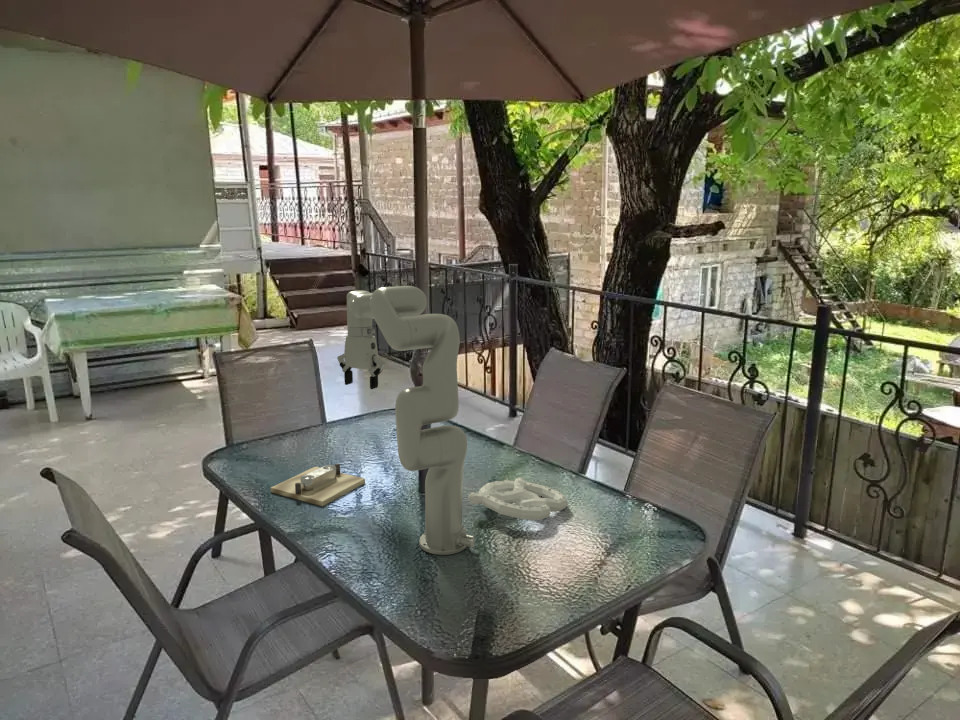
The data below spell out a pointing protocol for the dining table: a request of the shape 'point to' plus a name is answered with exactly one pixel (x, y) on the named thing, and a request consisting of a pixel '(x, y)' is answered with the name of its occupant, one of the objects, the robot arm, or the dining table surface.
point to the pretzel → (519, 499)
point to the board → (322, 493)
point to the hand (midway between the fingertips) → (361, 386)
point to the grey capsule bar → (318, 478)
